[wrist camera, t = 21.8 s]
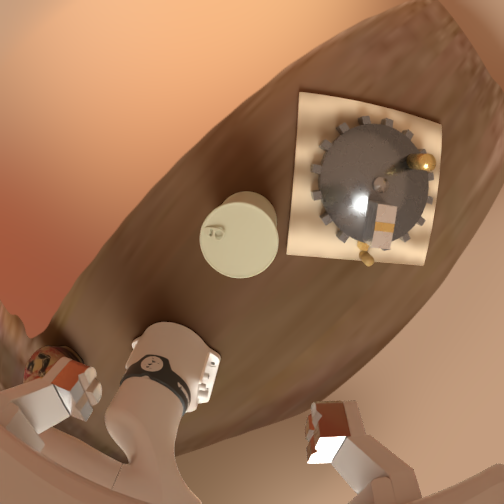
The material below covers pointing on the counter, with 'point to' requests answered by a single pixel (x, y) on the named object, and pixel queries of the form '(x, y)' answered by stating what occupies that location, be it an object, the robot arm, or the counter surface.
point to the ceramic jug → (47, 361)
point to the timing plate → (302, 205)
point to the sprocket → (372, 178)
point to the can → (240, 235)
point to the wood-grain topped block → (379, 224)
